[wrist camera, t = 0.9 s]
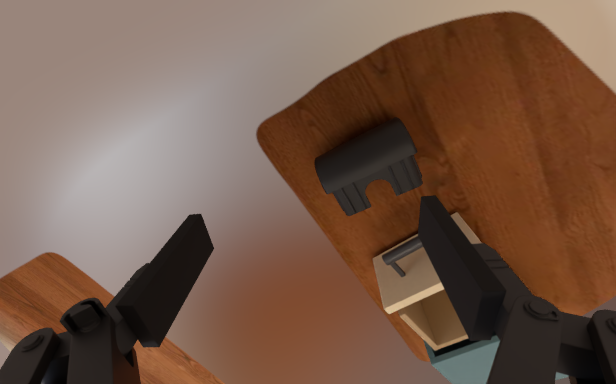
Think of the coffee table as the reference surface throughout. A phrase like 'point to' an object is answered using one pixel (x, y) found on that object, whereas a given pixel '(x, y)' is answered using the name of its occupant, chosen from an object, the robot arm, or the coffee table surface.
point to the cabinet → (467, 360)
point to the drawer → (420, 290)
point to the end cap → (369, 165)
